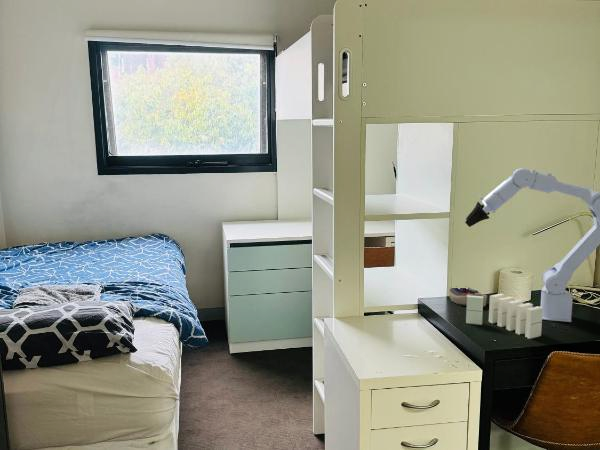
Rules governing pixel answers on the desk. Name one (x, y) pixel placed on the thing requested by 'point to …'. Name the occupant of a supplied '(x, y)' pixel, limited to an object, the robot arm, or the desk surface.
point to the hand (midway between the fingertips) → (467, 222)
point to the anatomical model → (464, 295)
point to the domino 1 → (474, 309)
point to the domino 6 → (533, 322)
